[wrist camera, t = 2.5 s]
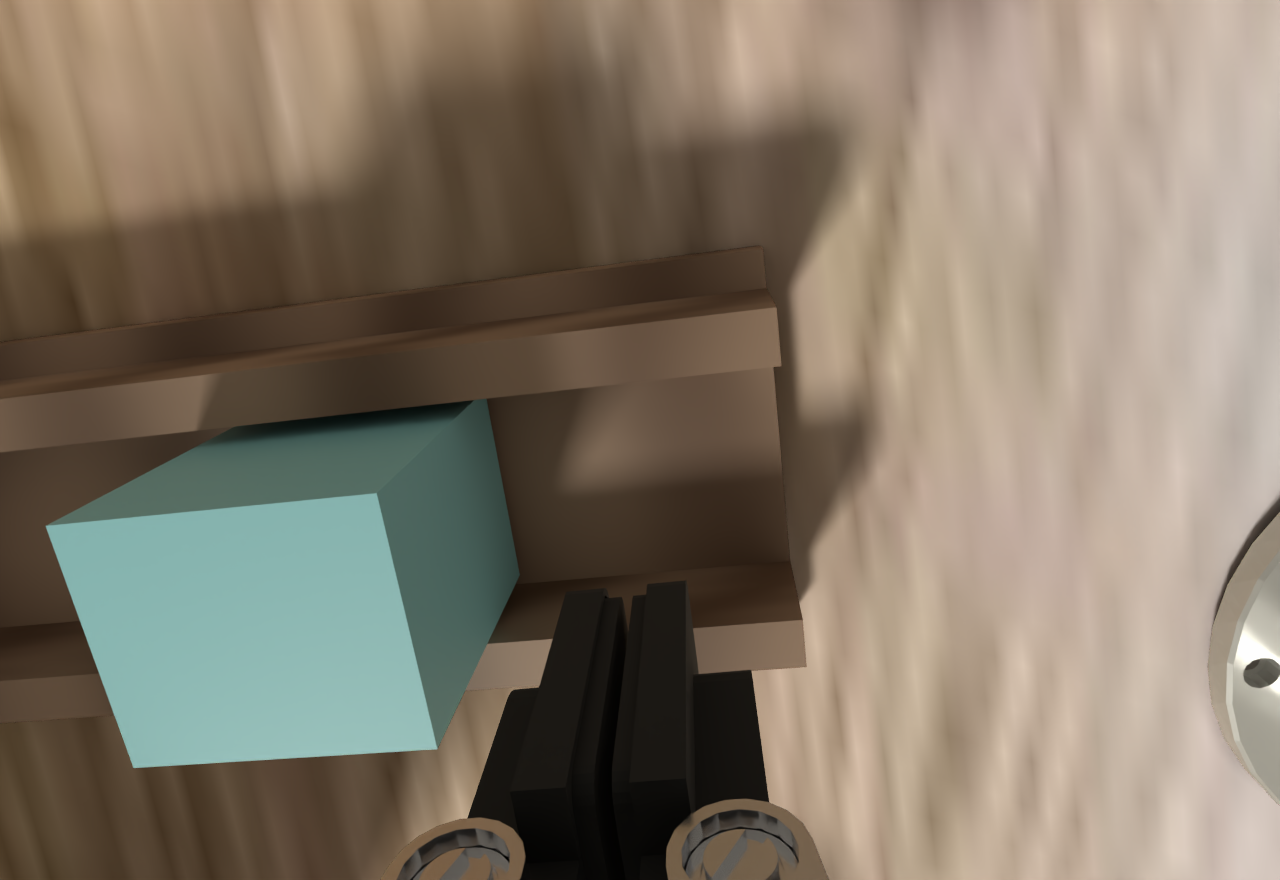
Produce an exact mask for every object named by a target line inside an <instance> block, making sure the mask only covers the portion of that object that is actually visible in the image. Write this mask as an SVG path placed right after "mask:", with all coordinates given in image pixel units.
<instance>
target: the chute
mask: <svg viewBox="0 0 1280 880" xmlns="http://www.w3.org/2000/svg"><path fill="white" fill-rule="evenodd" d="M778 366H781V354H780V342H779V330H778V318H777V307H776V305H775V303H774V301H773V300H772V298H771V296H770V294H769V292H768V290H767V288H766V276H765V264H764V253H763V248H762V247H761V246H753V247H745V248H737V249H730V250H722V251H714V252H706V253H698V254H690V255H682V256H674V257H667V258H659V259H651V260H643V261H635V262H627V263H619V264H611V265H603V266H596V267H588V268H580V269H572V270H564V271H556V272H548V273H540V274H533V275H525V276H517V277H509V278H501V279H493V280H485V281H477V282H469V283H462V284H454V285H446V286H438V287H430V288H422V289H414V290H406V291H399V292H391V293H383V294H375V295H367V296H359V297H351V298H343V299H335V300H328V301H320V302H312V303H304V304H296V305H288V306H280V307H272V308H265V309H257V310H249V311H241V312H233V313H225V314H217V315H209V316H201V317H194V318H186V319H178V320H170V321H162V322H154V323H146V324H138V325H131V326H123V327H115V328H107V329H99V330H91V331H83V332H75V333H67V334H60V335H52V336H44V337H36V338H28V339H20V340H12V341H4V342H0V723H12V722H26V721H41V720H55V719H69V718H84V717H98V716H112V715H114V713H113V710H112V707H111V705H110V702H109V699H108V696H107V694H106V691H105V688H104V685H103V683H102V680H101V677H100V674H99V672H98V669H97V666H96V663H95V661H94V658H93V655H92V652H91V650H90V647H89V644H88V641H87V639H86V636H85V633H84V630H83V628H82V625H81V622H80V619H79V617H78V614H77V611H76V608H75V606H74V603H73V600H72V597H71V595H70V592H69V589H68V586H67V584H66V581H65V578H64V575H63V573H62V570H61V567H60V564H59V562H58V559H57V556H56V553H55V551H54V548H53V545H52V542H51V540H50V537H49V534H48V531H47V529H46V525H48V524H50V523H52V522H54V521H56V520H58V519H60V518H62V517H63V516H65V515H67V514H69V513H71V512H73V511H75V510H77V509H79V508H81V507H82V506H84V505H86V504H88V503H90V502H92V501H94V500H96V499H98V498H100V497H101V496H103V495H105V494H107V493H109V492H111V491H113V490H115V489H117V488H119V487H120V486H122V485H124V484H126V483H128V482H130V481H132V480H134V479H136V478H138V477H139V476H141V475H143V474H145V473H147V472H149V471H151V470H153V469H155V468H157V467H159V466H160V465H162V464H164V463H166V462H168V461H170V460H172V459H174V458H176V457H178V456H179V455H181V454H183V453H185V452H187V451H189V450H191V449H193V448H195V447H197V446H198V445H200V444H202V443H204V442H206V441H208V440H210V439H212V438H214V437H216V436H217V435H219V434H221V433H223V432H225V431H227V430H229V429H231V428H233V427H235V426H244V425H253V424H262V423H271V422H280V421H289V420H298V419H307V418H316V417H325V416H334V415H343V414H352V413H361V412H370V411H380V410H389V409H398V408H407V407H416V406H425V405H434V404H443V403H452V402H461V401H470V400H479V399H487V404H488V410H489V415H490V420H491V425H492V431H493V436H494V441H495V447H496V452H497V457H498V462H499V468H500V473H501V478H502V483H503V489H504V494H505V499H506V505H507V510H508V515H509V520H510V526H511V531H512V536H513V541H514V547H515V552H516V557H517V562H518V568H519V573H520V576H519V578H518V580H517V582H516V584H515V586H514V588H513V591H512V593H511V595H510V597H509V599H508V601H507V603H506V605H505V607H504V610H503V612H502V614H501V616H500V618H499V620H498V622H497V624H496V626H495V629H494V631H493V633H492V635H491V637H490V639H489V641H488V643H487V645H486V648H485V650H484V652H483V654H482V656H481V658H480V660H479V662H478V664H477V667H476V669H475V671H474V673H473V675H472V677H471V679H470V681H469V683H468V686H467V688H466V690H465V691H469V690H484V689H498V688H512V687H526V686H540V682H541V679H542V675H543V672H544V668H545V665H546V661H547V657H548V654H549V650H550V647H551V643H552V640H553V636H554V633H555V629H556V626H557V622H558V618H559V615H560V611H561V608H562V604H563V601H564V597H565V594H566V592H569V591H579V590H590V589H600V588H606V589H607V591H608V595H609V598H614V597H622V599H623V603H624V608H625V614H626V621H627V627H628V631H629V623H630V615H631V606H632V598H633V596H636V595H646V590H647V584H653V583H663V582H674V581H685V580H686V581H687V586H688V593H689V600H690V608H691V616H692V624H693V632H694V640H695V647H696V655H697V663H698V671H699V674H706V673H717V672H729V671H741V670H751V671H755V670H769V669H784V668H798V667H807V666H806V654H805V642H804V630H803V619H802V614H801V610H800V605H799V600H798V596H797V591H796V586H795V582H794V577H793V572H792V568H791V563H790V554H789V542H788V531H787V519H786V508H785V496H784V484H783V473H782V461H781V450H780V438H779V427H778V415H777V403H776V392H775V380H774V369H773V367H778Z"/></svg>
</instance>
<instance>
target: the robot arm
mask: <svg viewBox="0 0 1280 880" xmlns="http://www.w3.org/2000/svg"><path fill="white" fill-rule="evenodd" d="M1208 675H1209V685H1210V695H1211V704H1212V707H1213V709H1214V712H1215V715H1216V718H1217V720H1218V723H1219V726H1220V729H1221V732H1222V734H1223V737H1224V739H1225V741H1226V742H1227V744H1228V745H1229V747H1230V748H1231V750H1232V751H1233V753H1234V754H1235V755H1236V757H1237V758H1238V760H1239V761H1240V763H1241V764H1242V766H1243V767H1244V769H1245V770H1246V771H1247V772H1248V773H1249V774H1250V775H1251V776H1252V777H1253V778H1254V779H1255V780H1256V782H1257V783H1258V784H1259V785H1260V786H1261V787H1262V788H1263V789H1264V790H1265V791H1266V792H1267V793H1268V794H1269V795H1270V797H1271V798H1272V799H1273V800H1274V801H1275V802H1276V803H1277V804H1278V805H1280V512H1279V513H1278V514H1277V516H1276V517H1275V518H1274V519H1273V520H1272V521H1271V523H1270V524H1269V525H1268V526H1267V527H1266V528H1265V530H1264V531H1263V532H1262V533H1261V534H1260V535H1259V536H1258V538H1257V539H1256V540H1255V541H1254V542H1253V543H1252V545H1251V546H1250V548H1249V550H1248V551H1247V553H1246V555H1245V556H1244V558H1243V560H1242V561H1241V563H1240V565H1239V566H1238V568H1237V570H1236V571H1235V573H1234V575H1233V576H1232V578H1231V580H1230V582H1229V583H1228V585H1227V588H1226V590H1225V593H1224V596H1223V599H1222V602H1221V604H1220V607H1219V610H1218V613H1217V615H1216V618H1215V621H1214V624H1213V628H1212V636H1211V643H1210V651H1209V658H1208ZM380 880H829V879H828V876H827V874H826V871H825V869H824V866H823V864H822V861H821V859H820V856H819V854H818V851H817V849H816V846H815V844H814V841H813V839H812V837H811V835H810V834H809V832H808V831H807V829H806V827H805V826H804V824H803V823H802V822H801V821H800V820H799V819H797V818H796V817H795V816H794V815H792V814H791V813H790V812H789V811H787V810H785V809H783V808H781V807H778V806H776V805H774V804H771V803H769V798H768V791H767V783H766V776H765V768H764V761H763V754H762V746H761V739H760V731H759V724H758V716H757V709H756V701H755V694H754V687H753V679H752V672H751V670H741V671H729V672H717V673H706V674H699V671H698V663H697V655H696V647H695V640H694V632H693V624H692V616H691V608H690V600H689V593H688V586H687V581H686V580H685V581H674V582H663V583H653V584H647V590H646V595H636V596H633V598H632V606H631V615H630V623H629V631H628V627H627V621H626V614H625V608H624V603H623V599H622V597H614V598H609V595H608V591H607V589H606V588H600V589H590V590H579V591H569V592H566V594H565V597H564V601H563V604H562V608H561V611H560V615H559V618H558V622H557V626H556V629H555V633H554V636H553V640H552V643H551V647H550V650H549V654H548V657H547V661H546V665H545V668H544V672H543V675H542V679H541V682H540V686H539V688H529V689H517V690H513V691H512V692H511V693H510V695H509V697H508V699H507V702H506V705H505V708H504V711H503V714H502V717H501V720H500V723H499V726H498V729H497V732H496V735H495V738H494V741H493V744H492V747H491V750H490V753H489V756H488V759H487V762H486V765H485V768H484V771H483V774H482V777H481V780H480V783H479V786H478V789H477V792H476V795H475V798H474V800H473V803H472V806H471V809H470V812H469V815H468V818H467V819H459V820H455V821H452V822H449V823H445V824H442V825H439V826H437V827H435V828H433V829H431V830H429V831H427V832H425V833H424V834H422V835H420V836H418V837H417V838H416V839H414V840H413V841H412V842H411V843H410V844H408V845H407V846H406V847H405V848H403V849H402V850H401V851H400V852H399V854H398V855H397V856H396V857H395V859H394V860H393V861H392V862H391V864H390V865H389V866H388V868H387V869H386V871H385V873H384V874H383V876H382V878H381V879H380Z"/></svg>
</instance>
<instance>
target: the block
mask: <svg viewBox="0 0 1280 880" xmlns="http://www.w3.org/2000/svg"><path fill="white" fill-rule="evenodd" d="M46 529H47V531H48V534H49V537H50V540H51V542H52V545H53V548H54V551H55V553H56V556H57V559H58V562H59V564H60V567H61V570H62V573H63V575H64V578H65V581H66V584H67V586H68V589H69V592H70V595H71V597H72V600H73V603H74V606H75V608H76V611H77V614H78V617H79V619H80V622H81V625H82V628H83V630H84V633H85V636H86V639H87V641H88V644H89V647H90V650H91V652H92V655H93V658H94V661H95V663H96V666H97V669H98V672H99V674H100V677H101V680H102V683H103V685H104V688H105V691H106V694H107V696H108V699H109V702H110V705H111V707H112V710H113V713H114V716H115V718H116V721H117V724H118V727H119V729H120V732H121V735H122V738H123V740H124V743H125V746H126V749H127V751H128V754H129V757H130V760H131V762H132V765H133V768H143V767H159V766H175V765H191V764H207V763H223V762H239V761H256V760H272V759H288V758H304V757H320V756H336V755H352V754H368V753H384V752H401V751H417V750H433V749H438V747H439V745H440V743H441V740H442V738H443V736H444V734H445V732H446V730H447V728H448V726H449V724H450V721H451V719H452V717H453V715H454V713H455V711H456V709H457V707H458V705H459V702H460V700H461V698H462V696H463V694H464V692H465V690H466V688H467V686H468V683H469V681H470V679H471V677H472V675H473V673H474V671H475V669H476V667H477V664H478V662H479V660H480V658H481V656H482V654H483V652H484V650H485V648H486V645H487V643H488V641H489V639H490V637H491V635H492V633H493V631H494V629H495V626H496V624H497V622H498V620H499V618H500V616H501V614H502V612H503V610H504V607H505V605H506V603H507V601H508V599H509V597H510V595H511V593H512V591H513V588H514V586H515V584H516V582H517V580H518V578H519V576H520V573H519V568H518V562H517V557H516V552H515V547H514V541H513V536H512V531H511V526H510V520H509V515H508V510H507V505H506V499H505V494H504V489H503V483H502V478H501V473H500V468H499V462H498V457H497V452H496V447H495V441H494V436H493V431H492V425H491V420H490V415H489V410H488V404H487V399H479V400H470V401H461V402H452V403H443V404H434V405H425V406H416V407H407V408H398V409H389V410H380V411H370V412H361V413H352V414H343V415H334V416H325V417H316V418H307V419H298V420H289V421H280V422H271V423H262V424H253V425H244V426H235V427H233V428H231V429H229V430H227V431H225V432H223V433H221V434H219V435H217V436H216V437H214V438H212V439H210V440H208V441H206V442H204V443H202V444H200V445H198V446H197V447H195V448H193V449H191V450H189V451H187V452H185V453H183V454H181V455H179V456H178V457H176V458H174V459H172V460H170V461H168V462H166V463H164V464H162V465H160V466H159V467H157V468H155V469H153V470H151V471H149V472H147V473H145V474H143V475H141V476H139V477H138V478H136V479H134V480H132V481H130V482H128V483H126V484H124V485H122V486H120V487H119V488H117V489H115V490H113V491H111V492H109V493H107V494H105V495H103V496H101V497H100V498H98V499H96V500H94V501H92V502H90V503H88V504H86V505H84V506H82V507H81V508H79V509H77V510H75V511H73V512H71V513H69V514H67V515H65V516H63V517H62V518H60V519H58V520H56V521H54V522H52V523H50V524H48V525H46Z"/></svg>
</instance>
